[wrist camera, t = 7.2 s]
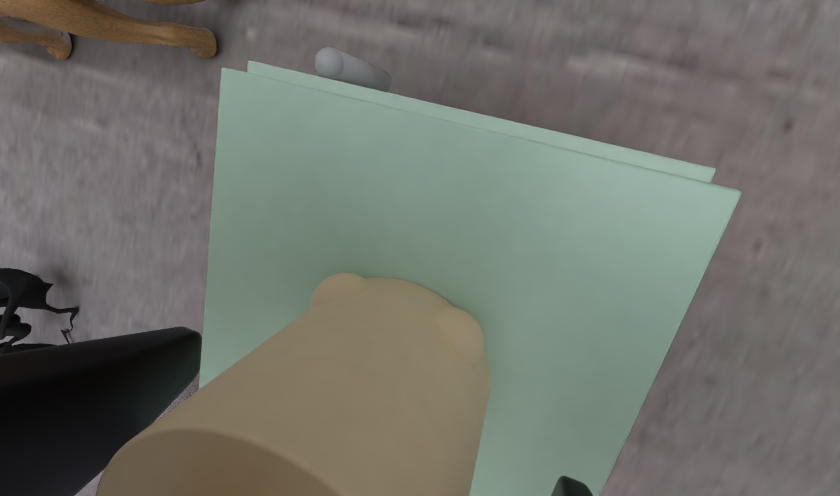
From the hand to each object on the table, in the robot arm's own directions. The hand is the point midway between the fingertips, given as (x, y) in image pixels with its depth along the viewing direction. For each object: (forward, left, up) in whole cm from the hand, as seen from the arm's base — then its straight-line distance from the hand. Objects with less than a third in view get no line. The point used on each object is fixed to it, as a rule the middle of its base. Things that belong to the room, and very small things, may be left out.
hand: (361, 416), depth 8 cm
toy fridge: (0, 0, -10) cm, 10 cm away
